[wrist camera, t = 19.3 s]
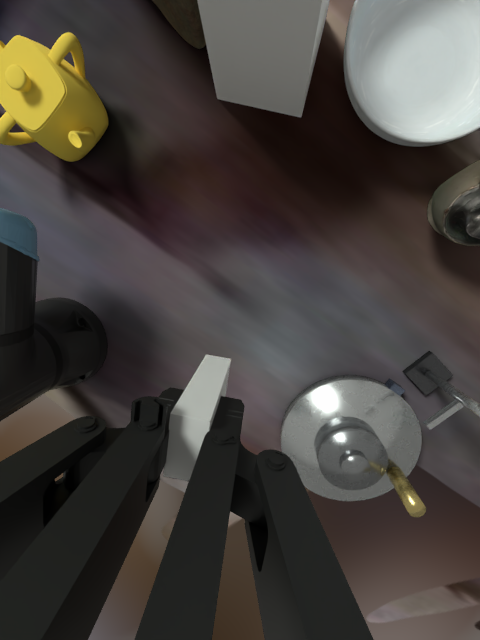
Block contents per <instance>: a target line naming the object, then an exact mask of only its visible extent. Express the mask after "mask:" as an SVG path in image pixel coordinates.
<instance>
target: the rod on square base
mask: <svg viewBox="0 0 480 640" xmlns="http://www.w3.org/2000/svg"><path fill="white" fill-rule="evenodd" d="M403 372H404V373H405V374H406V375H407V377H408V378H409V379H410V380H411V381H412V382H413V383H414V384H415V385H416V386H417V387H418V388H419V389H420V390H421V391H422V393H424V394H425V395H428V394H429V393H430V392H432V391H433V390H434V389H436V388H437V387H440V388H441V389H443V390H444V391H445V392H447V393H448V394H449V395H451V396H452V397H454V398H455V400H454V401H452V402H451V403H450V404H448V405H447V406H445V407H444V408H443V409H441V410H440V411H438V412H437V413H435V414H434V415H433V416H431V417H430V418H428V419H427V420H426V421H424V422H423V423H424V424H425V425H426V426H427V427H428V428H429V429H430V430H431V429H432V428H434V427H435V426H437V425H438V424H439V423H441V422H442V421H444V420H445V419H447V418H448V417H449V416H451V415H452V414H454V413H455V412H457V411H458V410H459V409H461V408H462V407H464V406H466V407H467V408H468V409H470V410H471V411H472V412H474V413H475V414H476V415H478V416H479V417H480V403H477V402H476V401H474V400H473V399H471V398H470V397H468V396H467V395H465V394H464V393H463V392H461V391H460V390H458V389H457V388H455V387H454V386H452V385H451V384H449V383H448V382H446V381H447V380H448V379H449V378H451V377H452V376H453V375H452V373H451V372H450V371H449V370H448V369H447V368H446V367H445V366H444V365H443V364H442V363H441V361H440V360H439V359H438V358H437V357H436V356H435V355H434V354H433V353H432V352H430V351H428V352H427V353H426V354H424V355H423V356H422V357H420V358H419V359H418V360H417V361H415V362H414V363H413V364H411V365H410V366H409V367H407V368H406V369H405V370H404V371H403ZM457 400H458V401H457ZM461 403H462V404H463V405H464V406H463V405H462V404H461Z"/></svg>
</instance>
